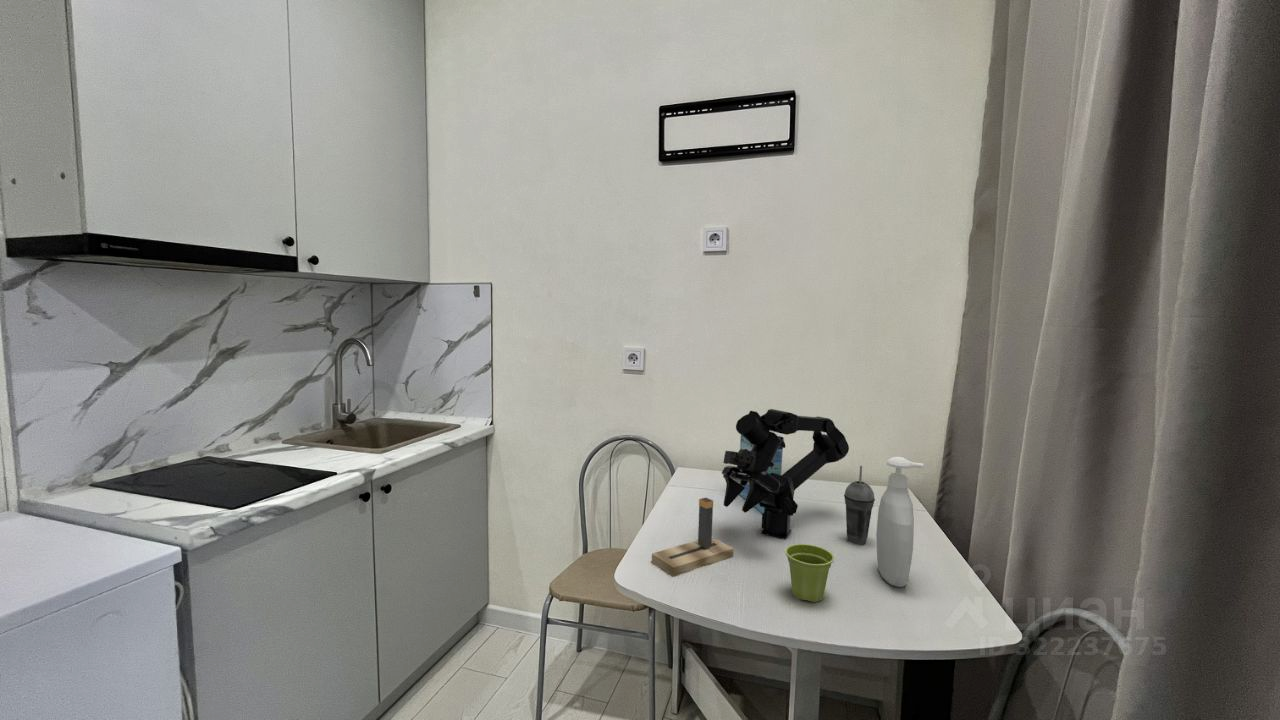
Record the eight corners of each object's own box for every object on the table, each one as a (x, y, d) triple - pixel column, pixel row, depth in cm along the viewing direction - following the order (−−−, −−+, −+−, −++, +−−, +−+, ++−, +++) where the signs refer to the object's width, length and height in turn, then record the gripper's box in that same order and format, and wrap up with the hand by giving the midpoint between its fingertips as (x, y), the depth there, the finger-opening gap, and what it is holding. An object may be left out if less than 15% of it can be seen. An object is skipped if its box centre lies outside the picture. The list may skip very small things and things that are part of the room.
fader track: (710, 544, 129) (710, 536, 129) (733, 556, 122) (733, 547, 122) (651, 562, 119) (651, 553, 118) (673, 576, 112) (673, 567, 112)
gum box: (737, 493, 168) (740, 423, 166) (751, 492, 169) (754, 423, 167) (764, 515, 149) (767, 437, 147) (780, 514, 150) (784, 437, 148)
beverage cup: (872, 538, 135) (877, 463, 133) (872, 549, 128) (876, 470, 127) (842, 533, 138) (846, 459, 136) (840, 543, 131) (844, 466, 130)
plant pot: (807, 611, 100) (810, 568, 99) (773, 588, 108) (775, 548, 107) (842, 600, 104) (844, 558, 103) (807, 579, 112) (809, 540, 112)
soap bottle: (927, 597, 106) (935, 467, 104) (884, 592, 108) (892, 464, 106) (905, 564, 120) (912, 450, 118) (867, 560, 122) (874, 448, 120)
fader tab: (704, 542, 124) (705, 497, 123) (711, 546, 122) (713, 500, 121) (697, 544, 123) (699, 499, 122) (705, 548, 121) (706, 502, 120)
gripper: (720, 436, 139) (692, 487, 134) (758, 437, 121) (727, 496, 117) (752, 458, 141) (725, 509, 137) (793, 462, 123) (764, 521, 119)
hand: (734, 508), depth 127 cm, fingers open, 9 cm apart
